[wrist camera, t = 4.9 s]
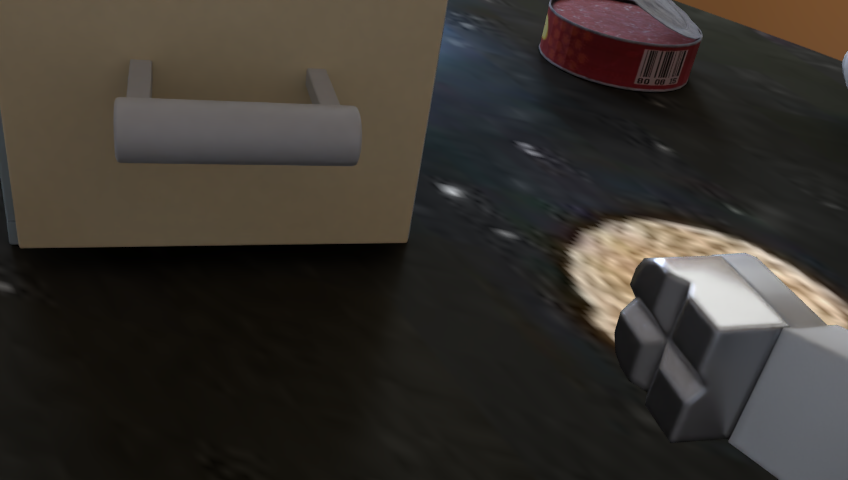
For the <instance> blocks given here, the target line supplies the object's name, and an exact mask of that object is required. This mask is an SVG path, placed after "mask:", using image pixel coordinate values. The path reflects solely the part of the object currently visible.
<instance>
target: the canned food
mask: <svg viewBox="0 0 848 480" xmlns="http://www.w3.org/2000/svg"><path fill="white" fill-rule="evenodd" d="M702 38H703V35H702V32H701V30H700V29H699V28H698V27H697V26H696V25H695V24H694V23H693V22H692V21H691V19H690V18H689V17H688V15H687V14H686V13H685V12H684V11H683V10H682V9H680V8H679V7H678V6H677V5H676V4H675V3H674V2H673V1H672V0H550V2H549V9H548V13H547V17H546V22H545V26H544V30H543V34H542V39H541V42H540V45H539V49H540V53H541V54H542V55H543V57H544V58H545V59H546V60H547V61H549V62H550V63H551V64H553V65H554V66H556V67H558V68H560V69H561V70H563V71H565V72H568V73H570V74H572V75H574V76H577V77H580V78H582V79H585V80H588V81H591V82H595V83H598V84H601V85H605V86H610V87H614V88H619V89H625V90H632V91H642V92H666V91H673V90H676V89H680V88H681V87H683V86H684V85H686V84H687V81H688V77H689V74H690V71H691V68H692V65H693V62H694V60H695V57H696V54H697V51H698V48H699V45H700V42H701V40H702Z"/></svg>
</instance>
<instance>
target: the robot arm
mask: <svg viewBox="0 0 848 480" xmlns="http://www.w3.org/2000/svg"><path fill="white" fill-rule="evenodd" d="M630 285H631V288H632V290H633V292H634V295H635V297H636V298H635V299H634V300H633V301H632V302H631V303H629V304H628V305H627V306H626V307H625V308H624V309H623V310H622V311H621V312H620V316H619V319H618V323H617V326H616V329H615V352H616V355H617V359H618V362H619V365H620V367H621V369H622V370H623V372H624V374H625V375H626V377H627V378H628V380H629V381H630V382H632V383H633V384H635V385H637V386H638V387H640V388H642V389H643V390H645V391H646V392H648V393H647V398H646V404H645V406H646V407H647V409H648V410H649V412H650V413H651V415H652V416H653V418H654V419H655V421H656V422H657V424H658V425H659V427H660V428H661V429H662V431H663V432H664V434H665V435H666V437H667V438H668V440H669V441H670V443H676V442H691V441H705V440H719V439H729V441H728V442H729V443H730V444H732V445H733V446H735V447H736V448H737V449H739V450H740V451H741V452H743V453H744V454H745V455H747V456H748V457H749V458H751V459H752V460H753V461H755V462H756V463H757V464H759V465H760V466H761V467H763V468H764V469H765V470H767V471H768V472H770V473H771V474H772V475H774V476H775V477H776V478H778V479H779V480H848V330H847V329H845V328H843V327H841V326H838V325H827V324H826V323H824V322H823V321H822V320H821V319H820V318H819V317H818V316H817V315H816V314H815V313H814V312H813V311H812V310H811V309H810V308H809V307H808V306H807V305H806V304H805V303H804V302H803V301H802V300H801V299H799V298H798V297H797V296H796V295H795V294H794V293H793V292H792V291H791V290H790V289H789V288H788V287H787V286H786V285H785V284H784V283H783V282H782V281H781V280H780V279H779V278H778V277H777V276H776V275H774V274H773V273H772V272H771V271H770V270H769V269H768V268H767V267H766V266H765V265H764V264H763V263H762V262H761V261H760V260H759V259H758V258H757V257H754V256H752V255H749V254H746V253H736V254H720V255H711V256H694V257H668V258H644V259H643V261H642V262H641V263H640V264H639V265H638V267H637V268H636V270H635V272H634V275H633V278H632V281H631V283H630Z"/></svg>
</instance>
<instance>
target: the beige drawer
mask: <svg viewBox="0 0 848 480" xmlns="http://www.w3.org/2000/svg"><path fill="white" fill-rule="evenodd" d="M447 1H448V0H0V109H1V117H2V124H3V132H4V139H5V147H6V154H7V162H8V169H9V177H10V184H11V192H12V199H13V207H14V214H15V222H16V229H17V237H18V244H19V247H20V248H84V247H155V246H226V245H297V244H368V243H407V240H408V234H409V228H410V222H411V216H412V210H413V204H414V199H415V193H416V187H417V181H418V175H419V169H420V163H421V157H422V151H423V145H424V139H425V133H426V127H427V121H428V115H429V109H430V103H431V97H432V91H433V85H434V79H435V73H436V67H437V61H438V55H439V49H440V43H441V37H442V31H443V25H444V19H445V13H446V7H447Z"/></svg>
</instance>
